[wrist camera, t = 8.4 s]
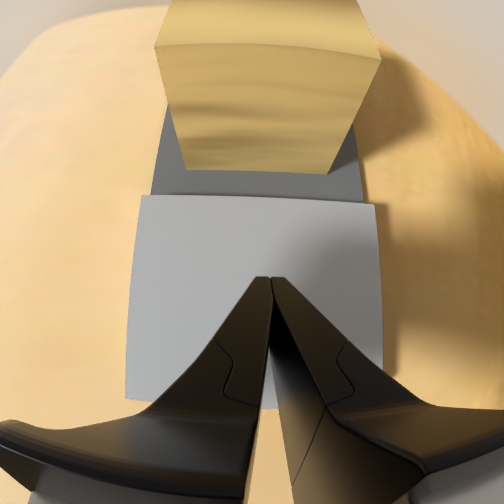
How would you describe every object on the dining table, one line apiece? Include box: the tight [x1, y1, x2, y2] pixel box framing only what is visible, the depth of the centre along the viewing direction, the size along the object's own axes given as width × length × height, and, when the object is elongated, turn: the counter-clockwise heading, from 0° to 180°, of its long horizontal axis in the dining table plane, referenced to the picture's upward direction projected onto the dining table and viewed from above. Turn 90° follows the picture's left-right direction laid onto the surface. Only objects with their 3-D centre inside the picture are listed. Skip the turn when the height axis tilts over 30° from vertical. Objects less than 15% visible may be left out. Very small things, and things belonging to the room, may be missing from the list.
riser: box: [125, 195, 383, 409], centre depth 16 cm, size 10×12×2 cm
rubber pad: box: [151, 104, 364, 203], centre depth 19 cm, size 11×12×1 cm
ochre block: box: [154, 0, 382, 175], centre depth 15 cm, size 8×8×9 cm
